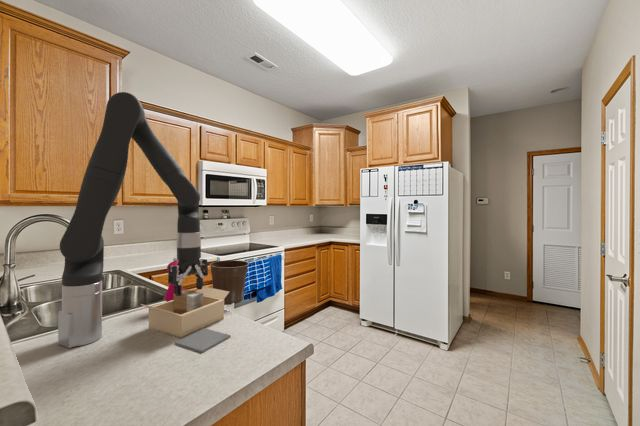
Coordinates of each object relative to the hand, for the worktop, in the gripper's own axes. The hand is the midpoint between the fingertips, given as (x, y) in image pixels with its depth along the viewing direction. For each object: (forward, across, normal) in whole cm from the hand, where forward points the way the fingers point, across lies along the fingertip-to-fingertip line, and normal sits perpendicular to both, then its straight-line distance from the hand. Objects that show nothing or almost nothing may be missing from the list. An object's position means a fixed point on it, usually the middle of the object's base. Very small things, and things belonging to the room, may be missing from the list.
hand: (189, 292), depth 99 cm
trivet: (+11, -7, -14) cm, 19 cm away
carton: (+11, 0, 0) cm, 11 cm away
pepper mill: (+11, +8, +17) cm, 22 cm away
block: (+10, 0, 0) cm, 10 cm away
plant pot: (+11, +25, +5) cm, 28 cm away
